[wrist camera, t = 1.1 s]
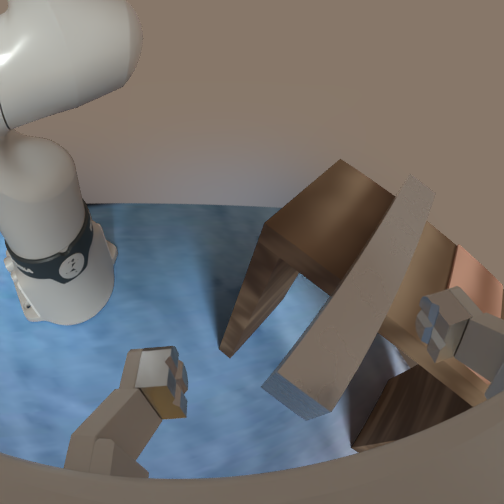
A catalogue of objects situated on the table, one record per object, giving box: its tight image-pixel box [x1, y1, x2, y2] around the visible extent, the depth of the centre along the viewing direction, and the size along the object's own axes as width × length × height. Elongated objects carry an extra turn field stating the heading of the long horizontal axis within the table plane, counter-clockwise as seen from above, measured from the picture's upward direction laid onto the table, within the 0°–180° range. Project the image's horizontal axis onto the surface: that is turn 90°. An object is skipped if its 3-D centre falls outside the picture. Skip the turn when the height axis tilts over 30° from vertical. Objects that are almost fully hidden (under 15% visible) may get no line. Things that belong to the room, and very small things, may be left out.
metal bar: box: [261, 174, 435, 421], centre depth 20 cm, size 3×22×3 cm, turn 142°
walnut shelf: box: [219, 159, 504, 453], centre depth 32 cm, size 26×13×26 cm, turn 52°
